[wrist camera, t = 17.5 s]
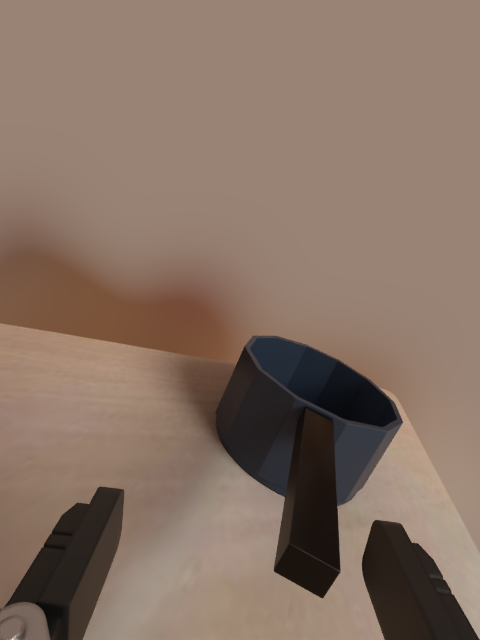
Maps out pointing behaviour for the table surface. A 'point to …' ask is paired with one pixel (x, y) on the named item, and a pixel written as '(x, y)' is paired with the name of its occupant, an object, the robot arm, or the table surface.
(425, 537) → the table surface
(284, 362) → the pan
